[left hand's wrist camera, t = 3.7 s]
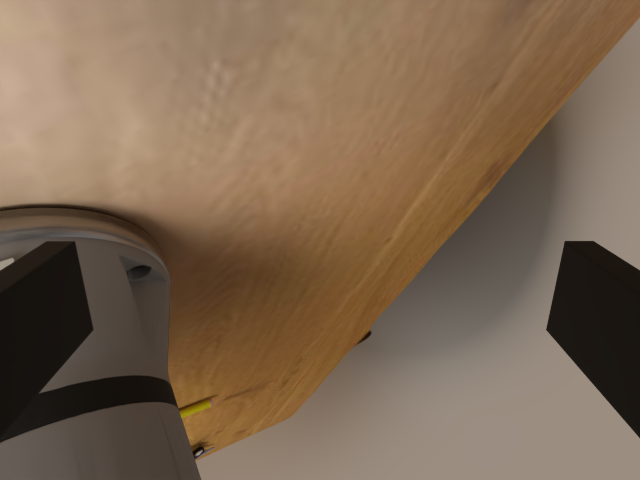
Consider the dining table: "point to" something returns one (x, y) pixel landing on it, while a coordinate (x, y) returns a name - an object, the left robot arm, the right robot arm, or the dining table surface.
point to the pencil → (196, 408)
